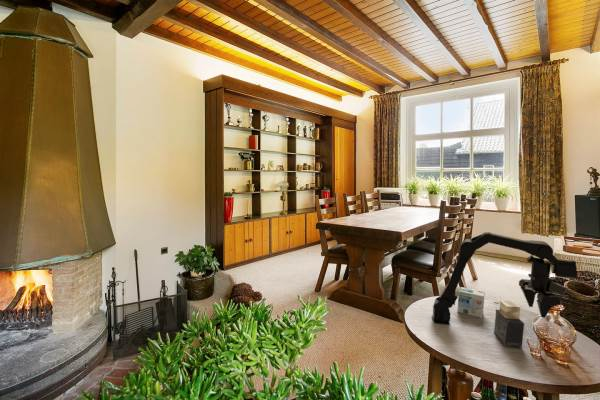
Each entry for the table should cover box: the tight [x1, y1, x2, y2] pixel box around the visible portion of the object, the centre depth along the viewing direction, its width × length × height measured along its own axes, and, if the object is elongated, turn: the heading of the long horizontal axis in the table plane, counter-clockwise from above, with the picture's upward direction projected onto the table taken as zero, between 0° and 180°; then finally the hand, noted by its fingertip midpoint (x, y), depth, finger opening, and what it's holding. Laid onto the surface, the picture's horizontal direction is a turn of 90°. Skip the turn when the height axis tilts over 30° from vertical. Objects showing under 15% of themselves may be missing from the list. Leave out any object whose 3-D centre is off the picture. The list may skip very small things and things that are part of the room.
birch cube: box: [499, 300, 521, 320], centre depth 121 cm, size 5×5×5 cm
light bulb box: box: [456, 286, 486, 319], centre depth 145 cm, size 11×7×11 cm, turn 55°
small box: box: [493, 309, 525, 349], centre depth 121 cm, size 11×6×10 cm, turn 168°
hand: (536, 311), depth 119 cm, fingers open, 9 cm apart
